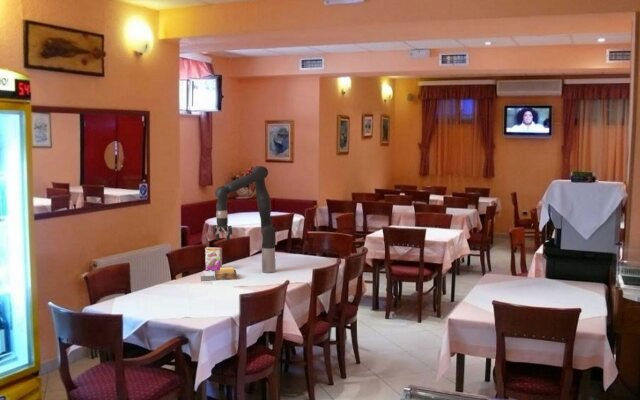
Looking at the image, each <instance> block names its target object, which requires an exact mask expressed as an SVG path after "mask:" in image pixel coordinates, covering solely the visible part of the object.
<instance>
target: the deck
mask: <svg viewBox="0 0 640 400" xmlns="http://www.w3.org/2000/svg"><path fill="white" fill-rule="evenodd" d="M237 275H238V274H237V271H236V269H234V273H220V270H215V271H214V278H215V280H214V281H227V280H230V281H231V280H237V277H238V276H237Z"/></svg>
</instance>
